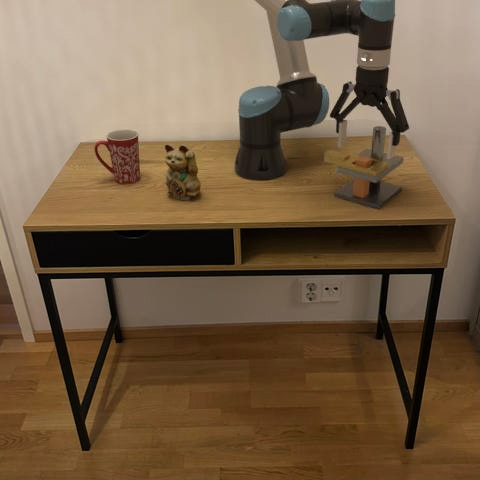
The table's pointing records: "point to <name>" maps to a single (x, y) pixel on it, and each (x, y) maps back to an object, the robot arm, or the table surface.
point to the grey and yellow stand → (367, 172)
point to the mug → (122, 155)
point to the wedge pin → (359, 184)
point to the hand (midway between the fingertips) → (365, 151)
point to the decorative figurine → (181, 172)
